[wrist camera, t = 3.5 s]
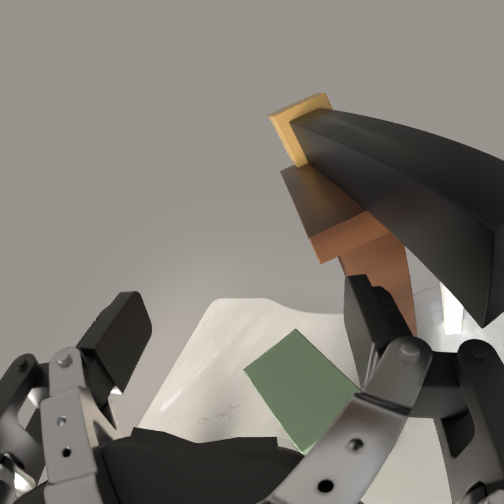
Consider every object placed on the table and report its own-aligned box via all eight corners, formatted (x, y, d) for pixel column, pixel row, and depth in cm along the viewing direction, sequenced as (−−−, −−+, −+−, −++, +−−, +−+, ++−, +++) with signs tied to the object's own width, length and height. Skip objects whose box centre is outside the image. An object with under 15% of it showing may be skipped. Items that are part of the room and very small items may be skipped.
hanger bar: (548, 269, 6) (561, 139, 4) (459, 347, 7) (463, 210, 4) (338, 140, 25) (317, 92, 23) (292, 163, 26) (267, 115, 23)
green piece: (391, 452, 27) (369, 397, 17) (354, 482, 26) (300, 453, 16) (347, 408, 36) (295, 328, 26) (314, 434, 35) (242, 369, 25)
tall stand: (440, 397, 29) (439, 177, 14) (381, 424, 31) (299, 241, 16) (411, 335, 40) (362, 134, 24) (359, 359, 41) (274, 173, 26)
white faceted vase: (442, 311, 39) (438, 239, 32) (466, 314, 36) (469, 241, 29) (436, 334, 37) (433, 265, 30) (461, 338, 34) (467, 267, 26)
